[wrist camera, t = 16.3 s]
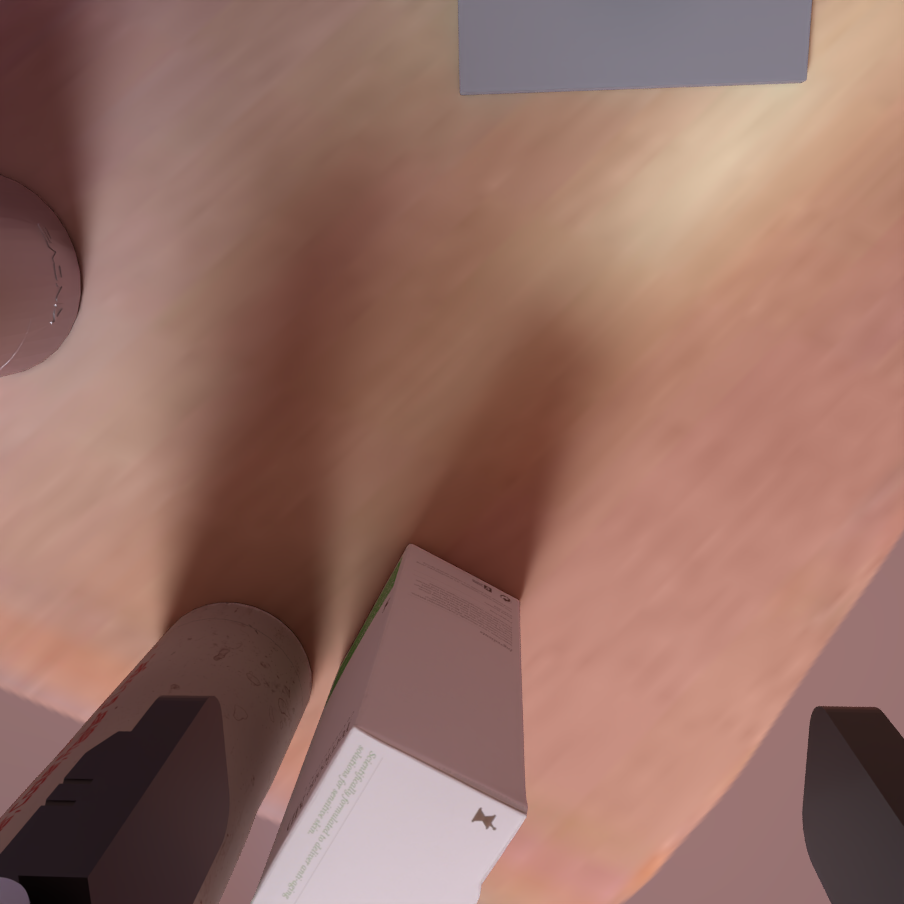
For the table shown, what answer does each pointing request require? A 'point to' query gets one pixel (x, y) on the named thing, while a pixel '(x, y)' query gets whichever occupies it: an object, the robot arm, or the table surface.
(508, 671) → the skincare box
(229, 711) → the thermos bottle
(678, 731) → the table surface
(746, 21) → the mat
